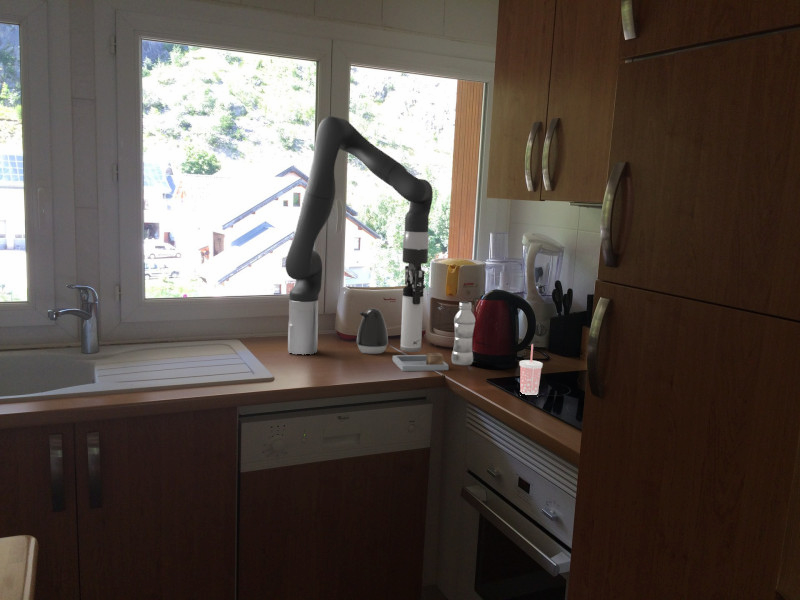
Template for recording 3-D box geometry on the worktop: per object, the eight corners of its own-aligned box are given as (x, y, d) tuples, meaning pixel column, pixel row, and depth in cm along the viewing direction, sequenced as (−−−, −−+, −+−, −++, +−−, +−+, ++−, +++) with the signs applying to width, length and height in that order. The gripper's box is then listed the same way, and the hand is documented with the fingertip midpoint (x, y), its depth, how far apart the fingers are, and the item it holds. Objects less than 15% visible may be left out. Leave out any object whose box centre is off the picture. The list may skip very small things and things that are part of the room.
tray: (402, 374, 196) (402, 366, 195) (392, 363, 208) (392, 355, 208) (448, 373, 199) (448, 365, 199) (435, 362, 211) (436, 354, 211)
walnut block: (429, 369, 199) (430, 356, 198) (426, 365, 203) (426, 352, 202) (442, 368, 200) (443, 355, 199) (438, 365, 204) (439, 352, 203)
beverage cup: (537, 392, 183) (541, 342, 180) (542, 399, 177) (546, 347, 174) (515, 391, 182) (518, 341, 180) (519, 398, 176) (523, 346, 174)
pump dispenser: (349, 352, 220) (350, 307, 218) (373, 349, 227) (375, 304, 225) (369, 359, 212) (370, 311, 210) (393, 355, 219) (395, 309, 217)
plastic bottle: (452, 362, 212) (455, 300, 209) (473, 364, 211) (477, 301, 208) (449, 367, 206) (453, 303, 203) (471, 369, 205) (475, 304, 202)
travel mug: (420, 352, 201) (423, 286, 198) (398, 351, 202) (401, 285, 199) (423, 348, 207) (426, 284, 204) (402, 346, 208) (405, 282, 205)
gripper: (397, 244, 206) (395, 298, 208) (409, 248, 192) (406, 306, 194) (421, 245, 207) (419, 298, 210) (434, 249, 194) (431, 306, 196)
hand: (413, 302), depth 202 cm, fingers closed on travel mug, 6 cm apart
